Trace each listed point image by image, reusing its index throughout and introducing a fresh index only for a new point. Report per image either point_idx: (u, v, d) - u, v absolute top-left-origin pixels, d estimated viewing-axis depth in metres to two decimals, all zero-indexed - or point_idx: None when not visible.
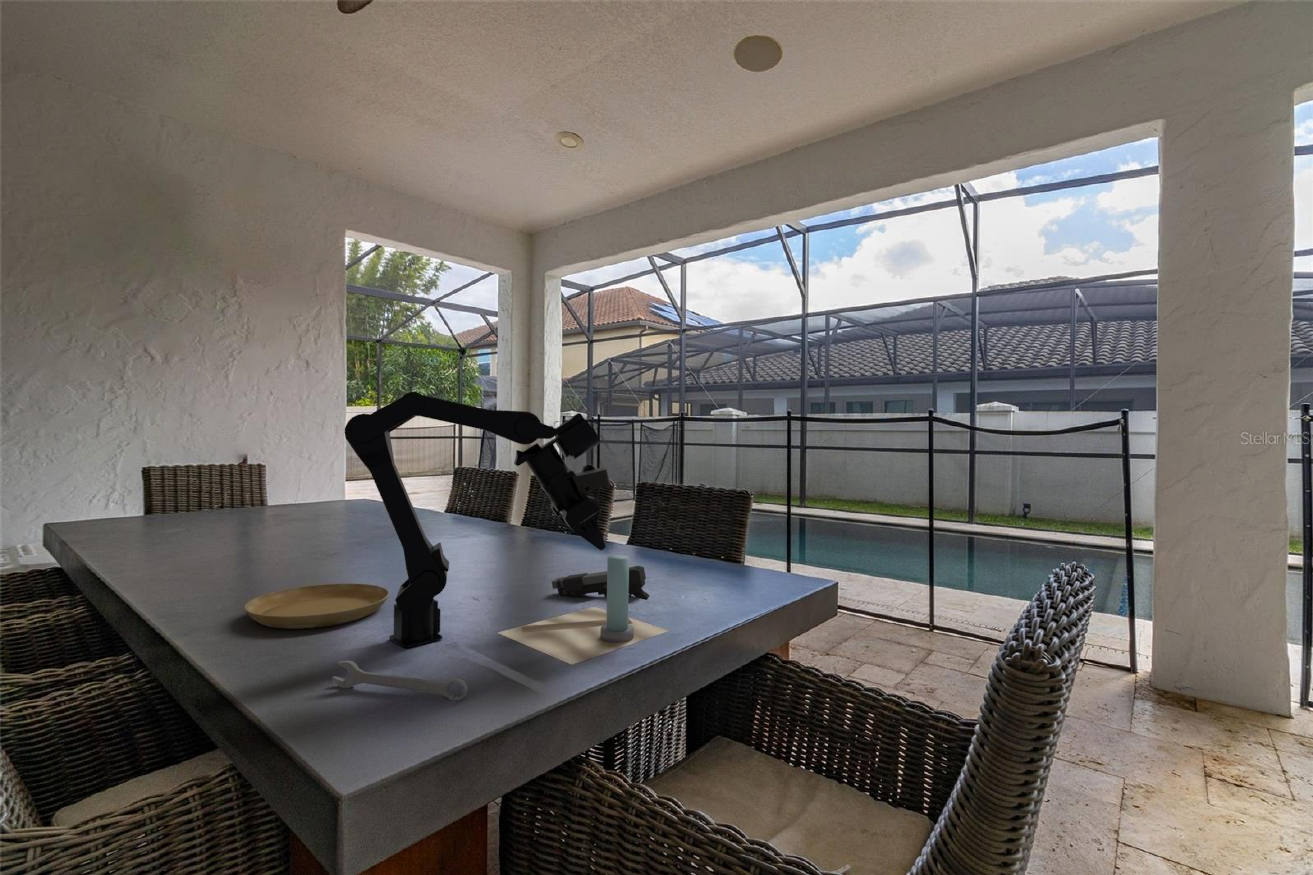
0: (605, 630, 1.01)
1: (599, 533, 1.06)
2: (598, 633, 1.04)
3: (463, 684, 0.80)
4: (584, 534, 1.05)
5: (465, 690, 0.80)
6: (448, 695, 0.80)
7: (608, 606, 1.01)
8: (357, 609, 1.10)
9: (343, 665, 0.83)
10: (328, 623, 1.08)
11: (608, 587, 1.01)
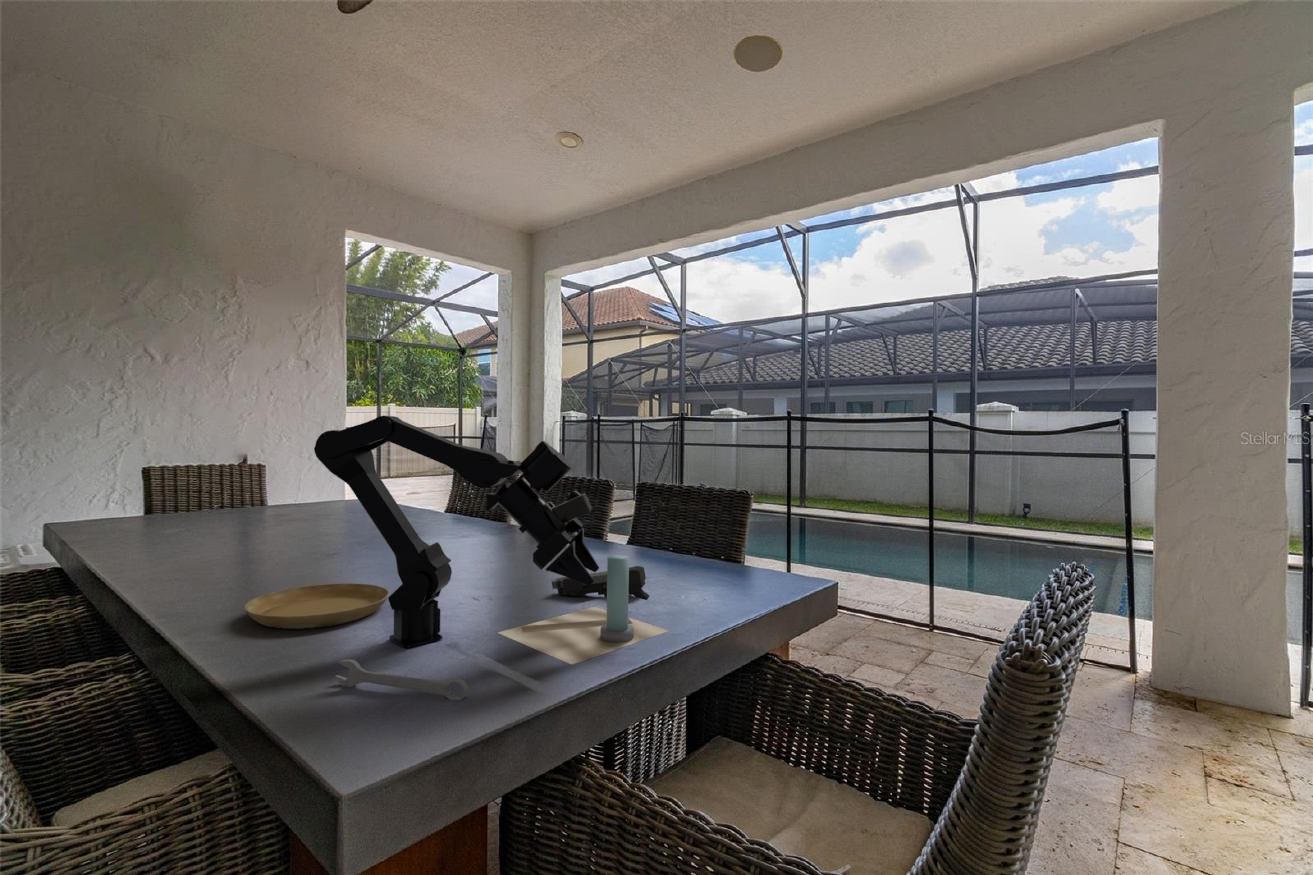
0: (605, 630, 1.01)
1: (581, 567, 0.96)
2: (598, 633, 1.04)
3: (463, 684, 0.80)
4: (563, 572, 0.96)
5: (465, 690, 0.80)
6: (448, 695, 0.80)
7: (608, 606, 1.01)
8: (357, 609, 1.10)
9: (345, 664, 0.83)
10: (328, 623, 1.08)
11: (608, 587, 1.01)
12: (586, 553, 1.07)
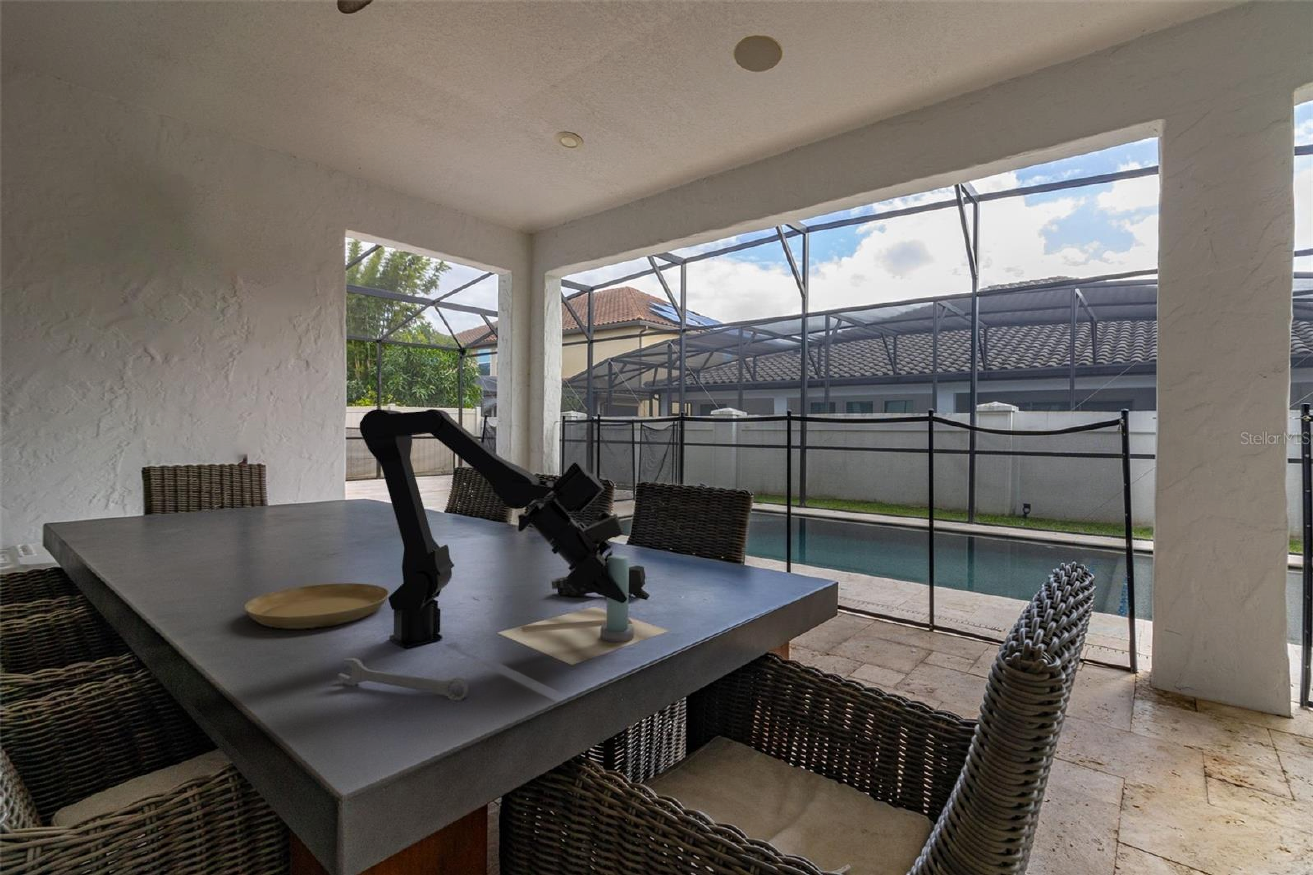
0: (605, 630, 1.01)
1: (615, 586, 0.99)
2: (598, 633, 1.04)
3: (463, 684, 0.80)
4: (598, 590, 0.98)
5: (465, 690, 0.80)
6: (449, 695, 0.80)
7: (608, 606, 1.01)
8: (357, 609, 1.10)
9: (348, 663, 0.84)
10: (328, 623, 1.07)
11: None
12: None
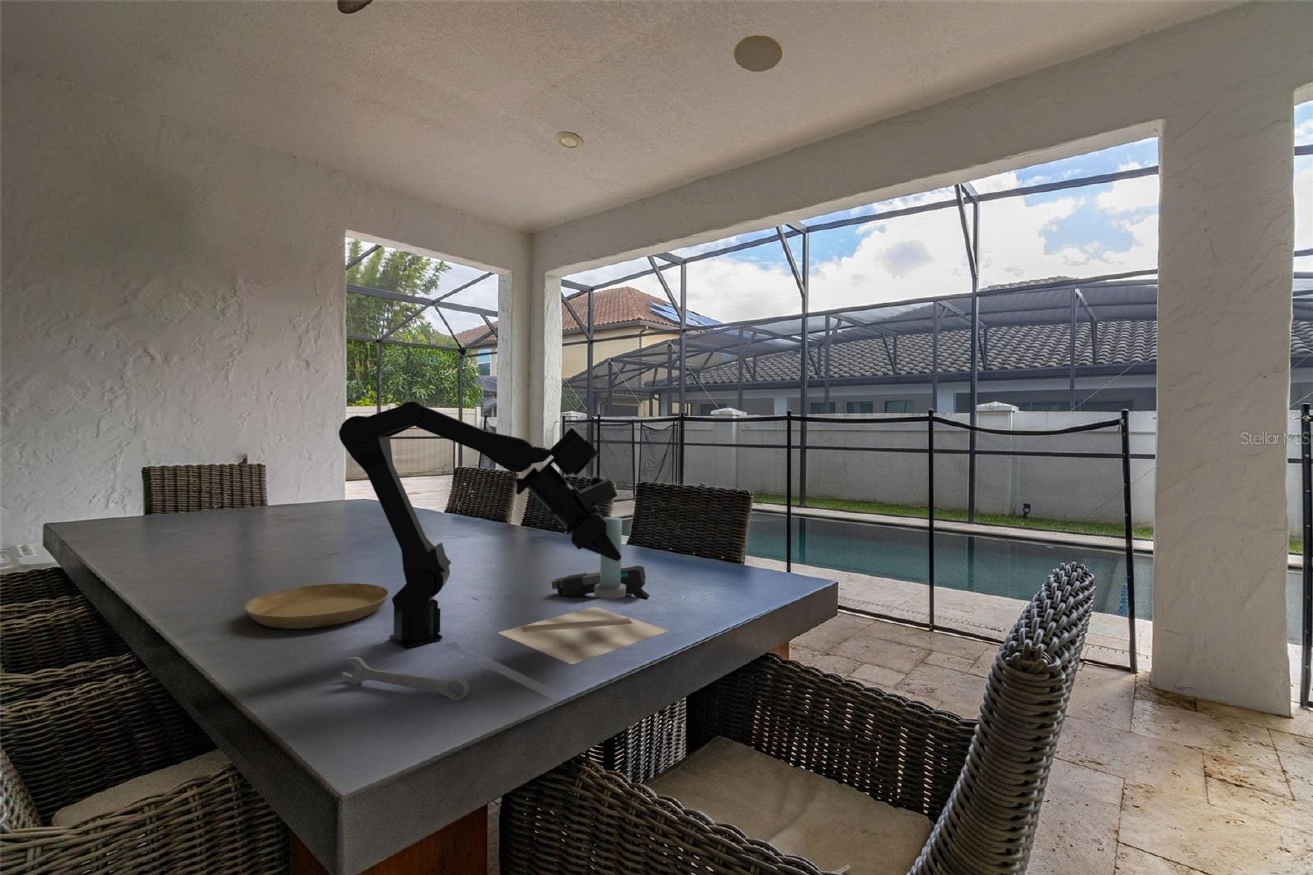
0: (599, 588, 1.06)
1: (611, 545, 1.04)
2: (598, 633, 1.04)
3: (463, 684, 0.80)
4: (596, 549, 1.04)
5: (465, 690, 0.80)
6: (449, 694, 0.80)
7: (603, 565, 1.06)
8: (357, 609, 1.10)
9: (351, 661, 0.84)
10: (328, 623, 1.07)
11: None
12: None
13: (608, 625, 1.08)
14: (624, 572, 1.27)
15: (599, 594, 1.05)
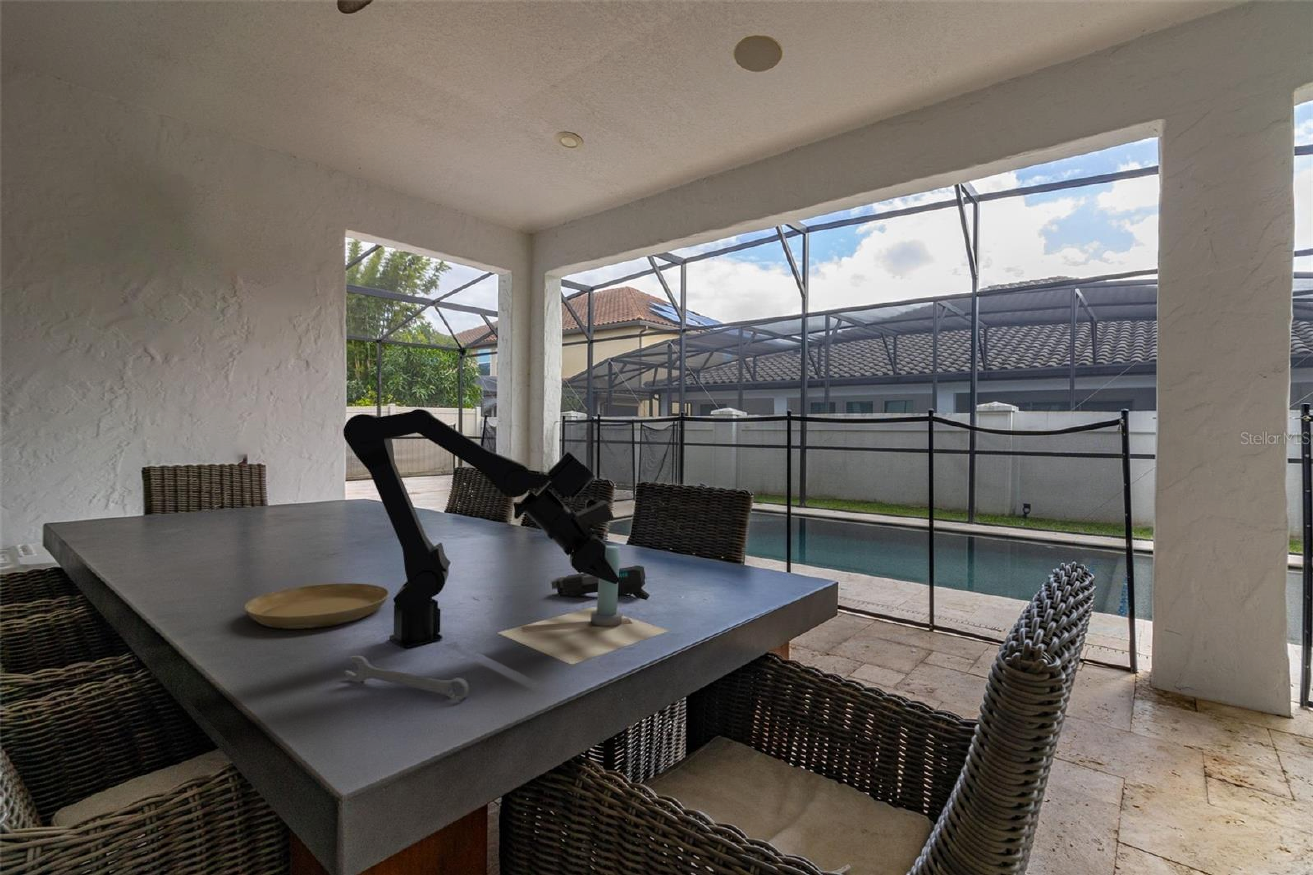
0: (596, 615, 1.08)
1: (610, 568, 1.05)
2: (598, 633, 1.04)
3: (463, 684, 0.80)
4: (595, 573, 1.04)
5: (466, 690, 0.80)
6: (449, 694, 0.80)
7: (600, 592, 1.08)
8: (357, 609, 1.10)
9: (354, 660, 0.85)
10: (328, 623, 1.07)
11: None
12: None
13: None
14: (624, 572, 1.27)
15: (596, 621, 1.07)
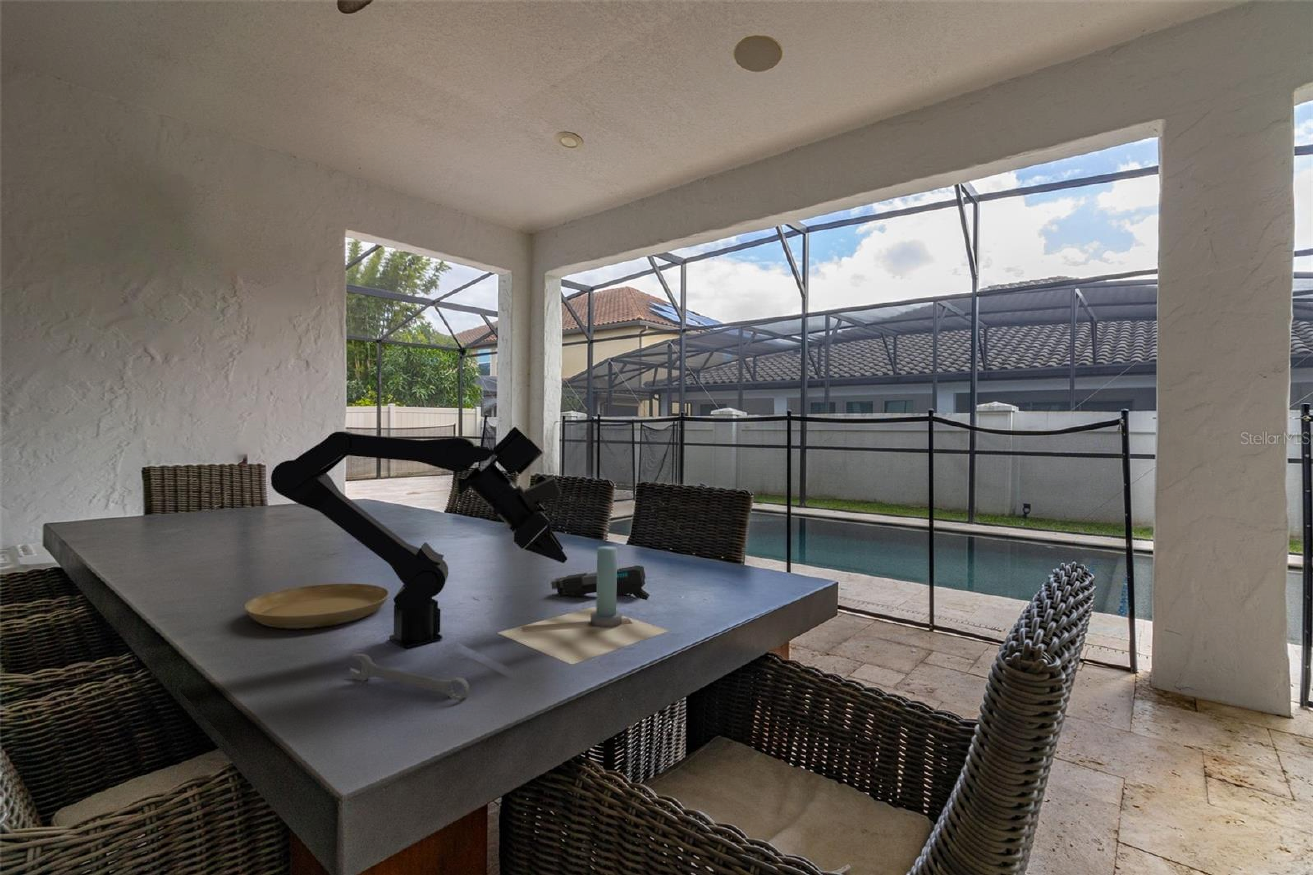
0: (596, 616, 1.08)
1: (556, 546, 1.02)
2: (598, 633, 1.04)
3: (464, 684, 0.80)
4: (540, 550, 1.01)
5: (466, 690, 0.80)
6: (450, 694, 0.80)
7: (599, 594, 1.08)
8: (357, 609, 1.10)
9: (358, 658, 0.86)
10: (328, 623, 1.07)
11: (599, 576, 1.08)
12: (551, 534, 1.12)
13: None
14: (624, 572, 1.27)
15: (596, 623, 1.07)
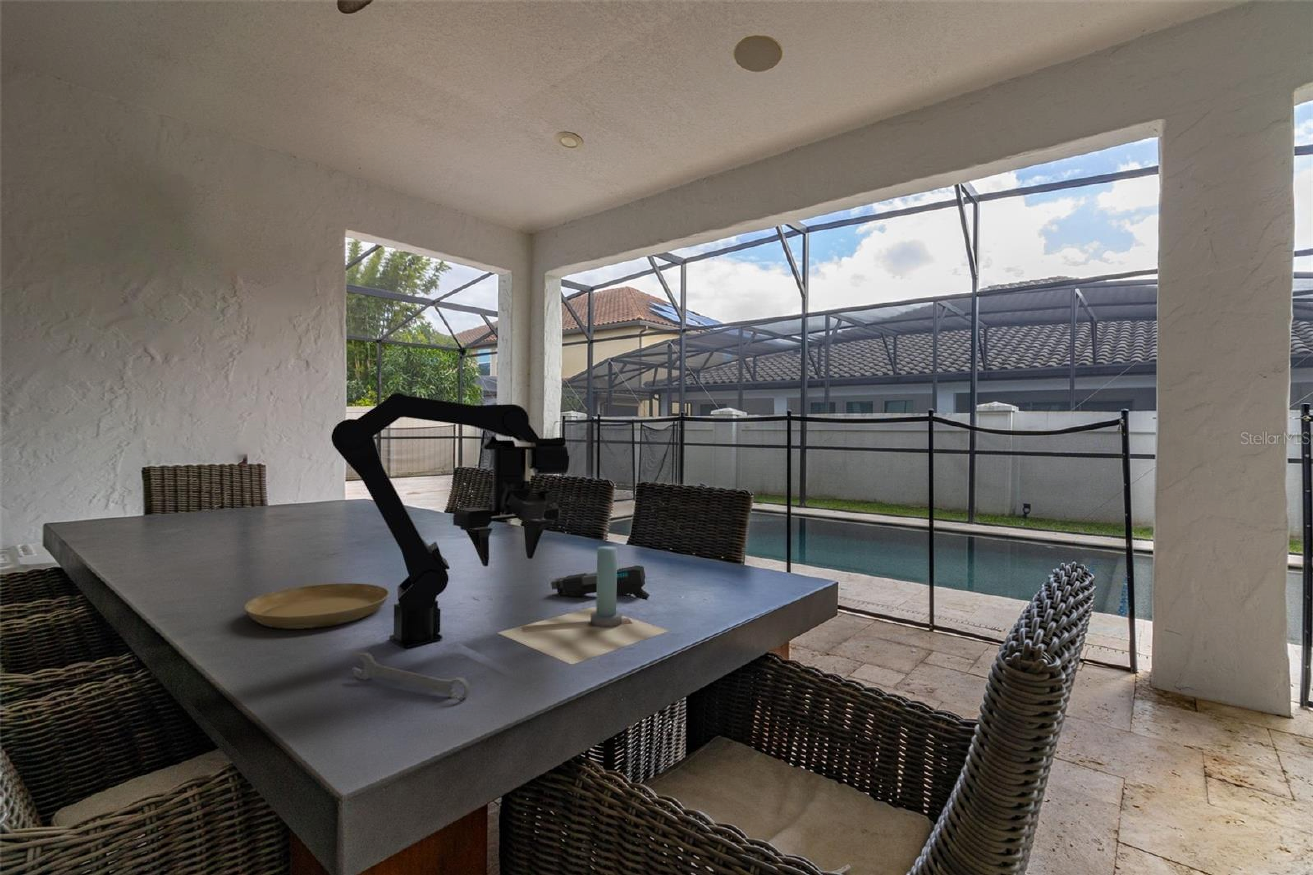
0: (596, 616, 1.08)
1: (482, 550, 1.03)
2: (598, 633, 1.04)
3: (464, 684, 0.80)
4: (473, 539, 1.05)
5: (466, 690, 0.80)
6: (450, 694, 0.80)
7: (599, 594, 1.08)
8: (356, 609, 1.10)
9: (360, 657, 0.86)
10: (327, 623, 1.07)
11: (599, 576, 1.08)
12: (532, 540, 1.11)
13: None
14: (624, 572, 1.27)
15: (596, 623, 1.07)
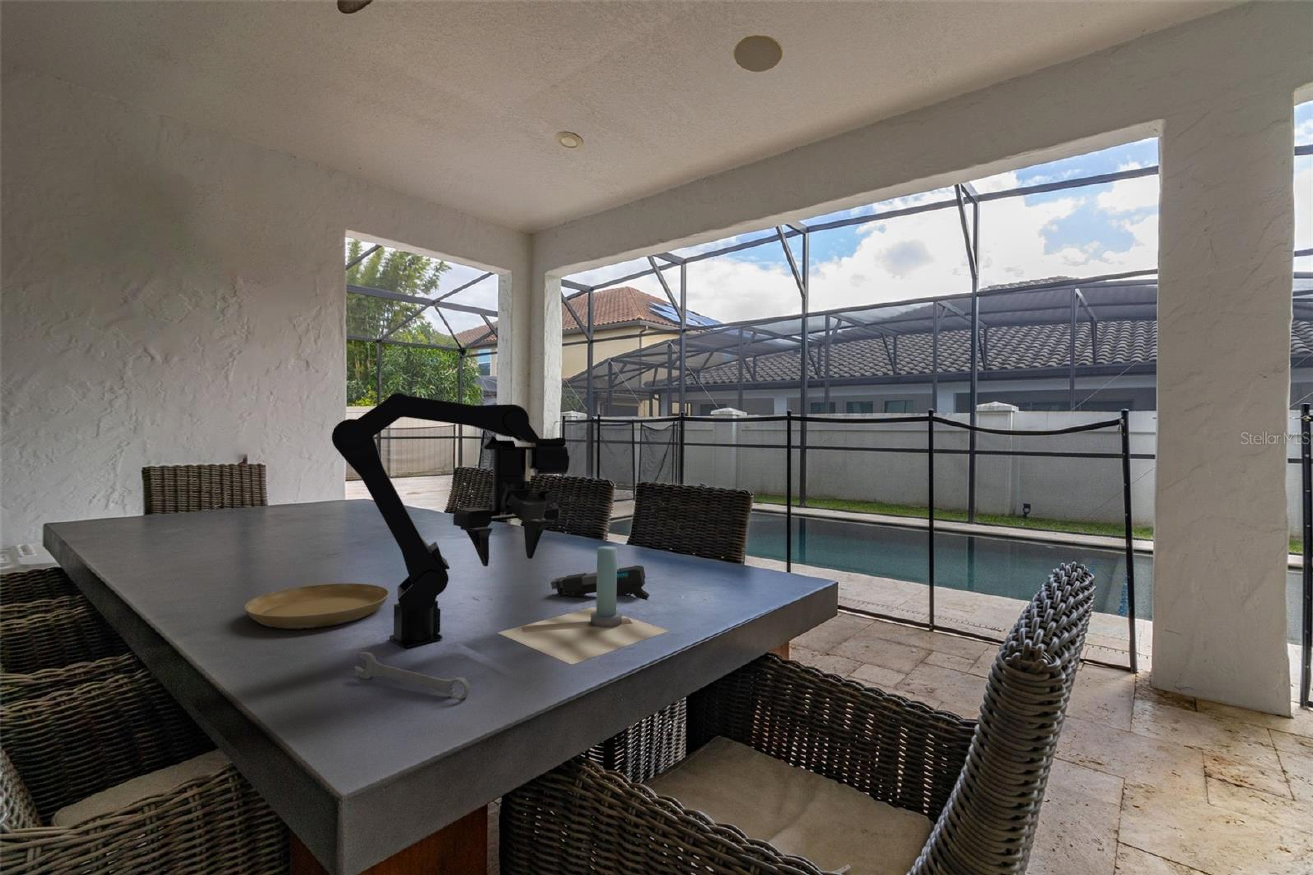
0: (596, 616, 1.08)
1: (482, 550, 1.03)
2: (598, 633, 1.04)
3: (464, 683, 0.80)
4: (473, 539, 1.05)
5: (466, 690, 0.80)
6: (451, 693, 0.80)
7: (599, 594, 1.08)
8: (356, 609, 1.10)
9: (362, 656, 0.86)
10: (327, 623, 1.07)
11: (599, 576, 1.08)
12: (532, 540, 1.11)
13: None
14: (624, 572, 1.27)
15: (596, 623, 1.07)
